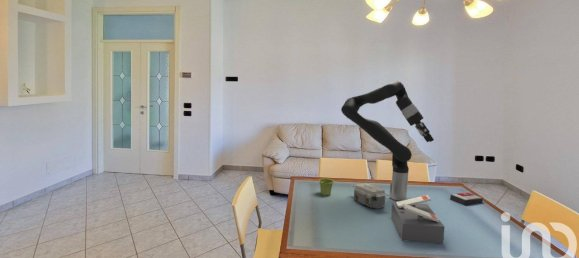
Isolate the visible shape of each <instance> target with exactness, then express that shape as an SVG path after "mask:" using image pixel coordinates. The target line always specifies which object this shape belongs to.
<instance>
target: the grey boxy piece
mask: <svg viewBox="0 0 579 258" xmlns="http://www.w3.org/2000/svg"><path fill="white" fill-rule="evenodd" d="M350 187H353V200H355V201H357V202H358V203H360V204H362V205H364V206H367V207H369V208H371V209H382V208H383V207H384V206H386V197H389V196H390V193H389V194H388V193H386V191H385V189H383V188H381V187H378V186H375V185H372V184H369V183H359V184H358V183H357V184H356V183H355V184H351V185H350Z"/></svg>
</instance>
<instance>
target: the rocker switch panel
mask: <svg viewBox="0 0 579 258" xmlns="http://www.w3.org/2000/svg"><path fill="white" fill-rule="evenodd" d="M396 202H397V201H392V202H391V203H392V204H391V213H390V214H391V215H390V216H391V219H392V222H393V223H394V225H395V228H396V231H397V232H398V236H399V237H401V238H400V239H402V240H401V241H404V240H409V241H408V242H417V241H419V243H432V244H444V237H445V227H446V226H445V225H444V223H443V222H442V221H441V220H440V221H439V222H436V221H434V220H431V219H428V218H426V217H423V216H420V215H418V214H415V213H412V212H410V211H407V210H405V209H404V207H402V208H398V206H397V204H396ZM410 206H412V207H415V208H417V209H420V210H423V211H425V212H428V213H431V214H433V215H436V213H435V212H434V211H433V209H432V208H431V207H430V205H429V204H428V203H426V204H425V203H419V204H415V205H410ZM436 217H437V218H438V219H439V217H438V216H437V215H436Z"/></svg>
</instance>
